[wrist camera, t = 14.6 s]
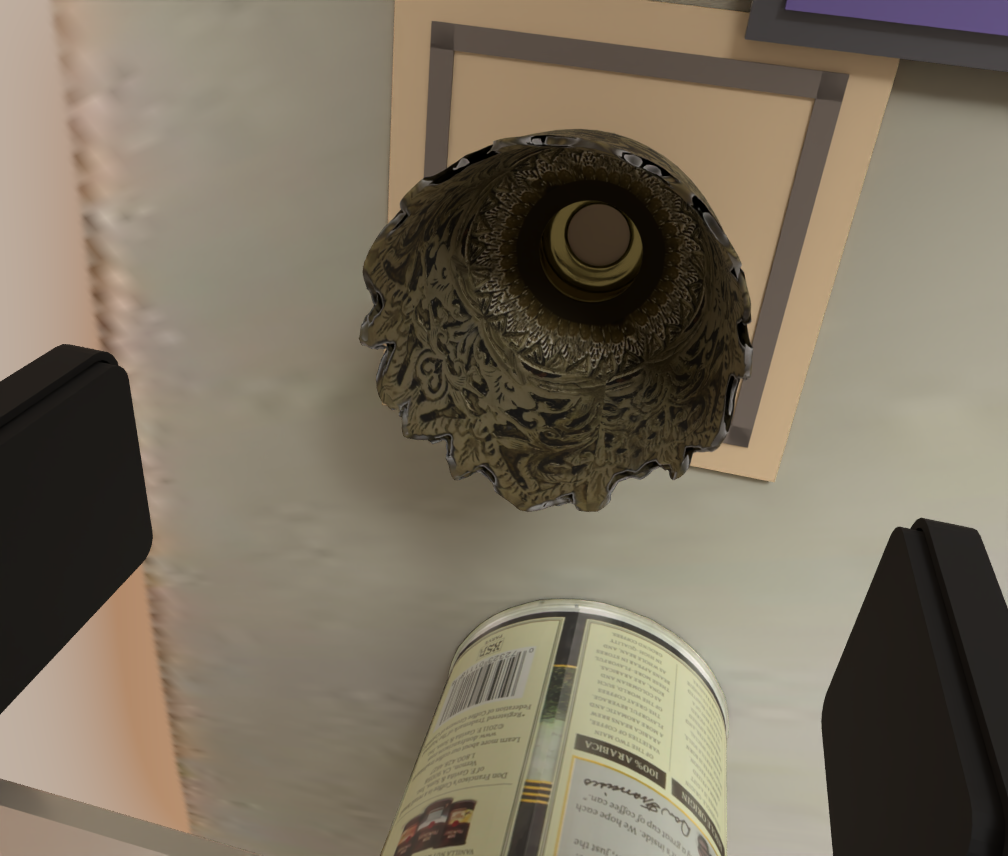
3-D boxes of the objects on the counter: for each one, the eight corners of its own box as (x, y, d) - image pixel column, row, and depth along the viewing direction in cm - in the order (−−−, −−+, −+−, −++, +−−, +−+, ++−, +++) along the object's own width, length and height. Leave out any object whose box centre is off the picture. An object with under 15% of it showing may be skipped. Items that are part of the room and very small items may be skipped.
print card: (399, -30, 21) (394, -30, 21) (906, 31, 20) (909, 32, 19) (385, 400, 27) (380, 406, 27) (774, 477, 26) (774, 484, 25)
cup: (534, 399, 26) (465, 556, 19) (415, 165, 23) (285, 246, 16) (785, 306, 23) (813, 451, 16) (679, 29, 20) (657, 58, 14)
